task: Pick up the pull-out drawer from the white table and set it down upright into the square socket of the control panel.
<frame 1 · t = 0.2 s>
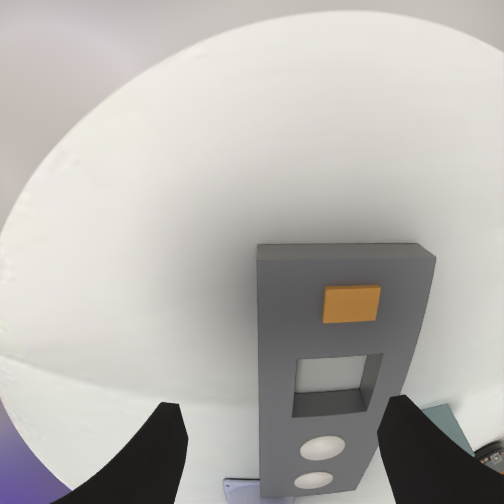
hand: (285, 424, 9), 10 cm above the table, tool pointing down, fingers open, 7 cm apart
pull-out drawer: (424, 420, 23), on the table
control panel: (323, 402, 22), on the table
supplement container: (473, 461, 28), on the table
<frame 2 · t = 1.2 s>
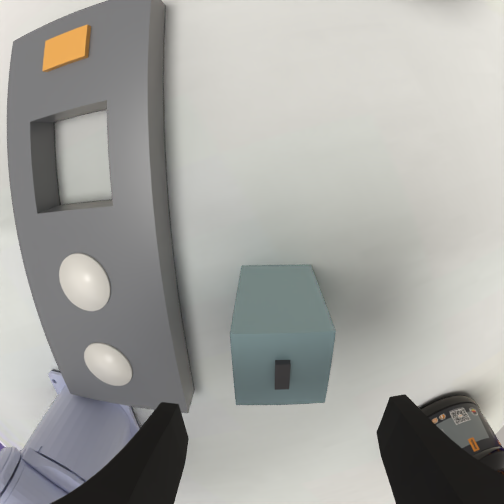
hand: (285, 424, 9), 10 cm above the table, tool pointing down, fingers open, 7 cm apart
pull-out drawer: (276, 296, 19), on the table
control panel: (95, 221, 17), on the table
supplement container: (429, 425, 23), on the table
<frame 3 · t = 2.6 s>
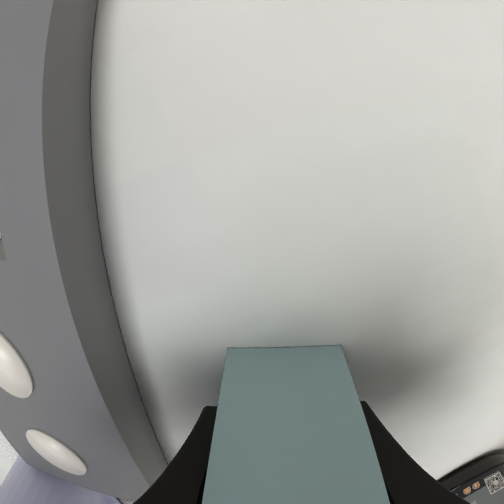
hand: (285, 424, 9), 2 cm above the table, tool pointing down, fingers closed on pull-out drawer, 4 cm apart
pull-out drawer: (283, 387, 11), on the table, touching gripper
control panel: (12, 267, 10), on the table
supplement container: (455, 483, 16), on the table
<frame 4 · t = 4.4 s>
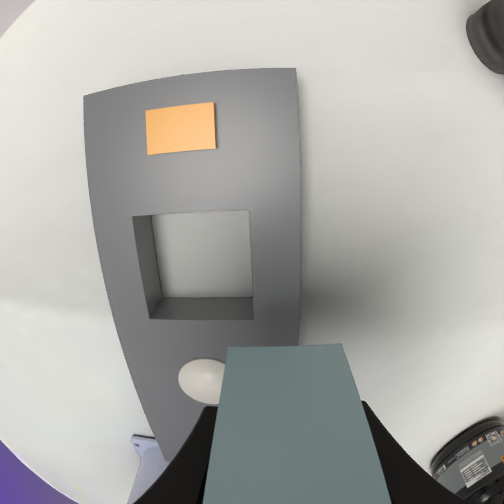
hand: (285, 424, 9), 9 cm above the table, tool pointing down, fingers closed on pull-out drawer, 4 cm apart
pull-out drawer: (283, 386, 11), point 7 cm above the table, touching gripper
control panel: (209, 316, 18), on the table
supplement container: (465, 444, 24), on the table
beverage cup: (489, 43, 12), on the table
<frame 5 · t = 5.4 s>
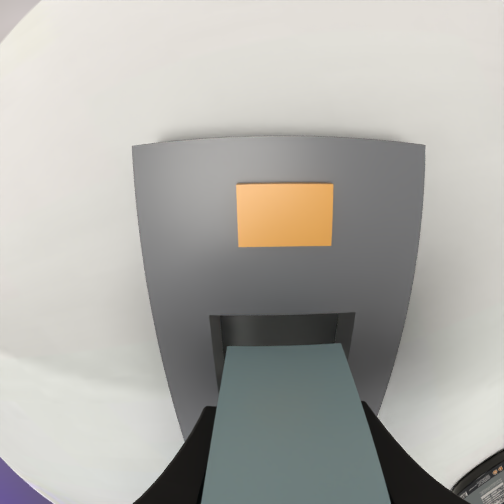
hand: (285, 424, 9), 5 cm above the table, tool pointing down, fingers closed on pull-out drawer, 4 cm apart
pull-out drawer: (283, 386, 11), point 4 cm above the table, touching gripper
control panel: (277, 395, 16), on the table
supplement container: (483, 470, 22), on the table
when the fingers open (4 cm above the table, at t = 6.1 s): pull-out drawer drops 2 cm, resting in control panel.
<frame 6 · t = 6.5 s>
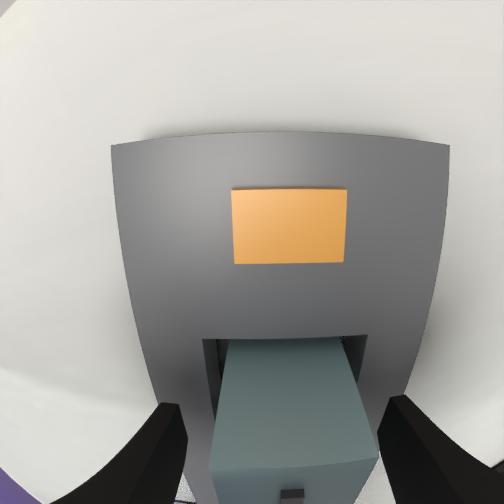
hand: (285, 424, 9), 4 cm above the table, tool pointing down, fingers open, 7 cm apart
pull-out drawer: (281, 355, 13), resting in control panel
control panel: (278, 415, 14), on the table
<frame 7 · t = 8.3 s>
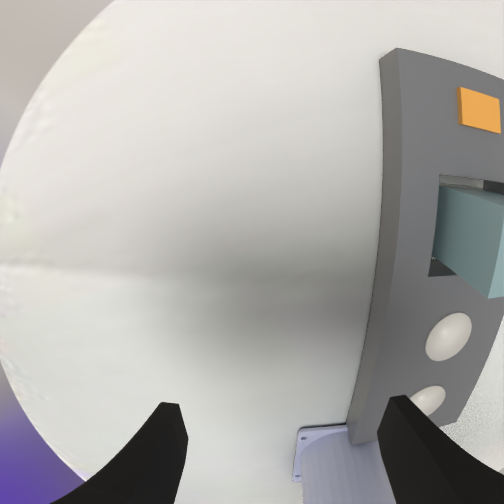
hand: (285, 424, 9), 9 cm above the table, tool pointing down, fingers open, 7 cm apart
pull-out drawer: (450, 216, 16), resting in control panel
control panel: (441, 277, 17), on the table
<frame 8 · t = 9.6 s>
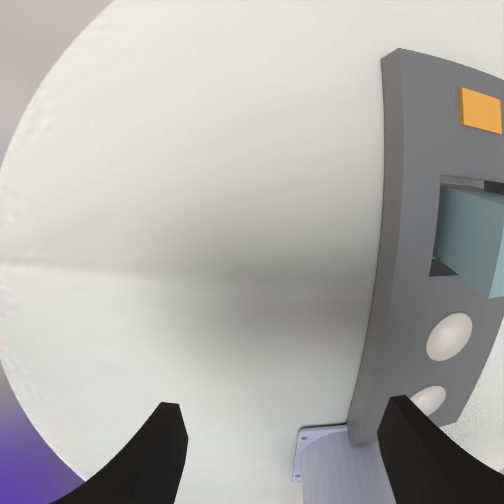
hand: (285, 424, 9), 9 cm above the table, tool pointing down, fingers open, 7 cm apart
pull-out drawer: (451, 216, 16), resting in control panel
control panel: (442, 277, 17), on the table
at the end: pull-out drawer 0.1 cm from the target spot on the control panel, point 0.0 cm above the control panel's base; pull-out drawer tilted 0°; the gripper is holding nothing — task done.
